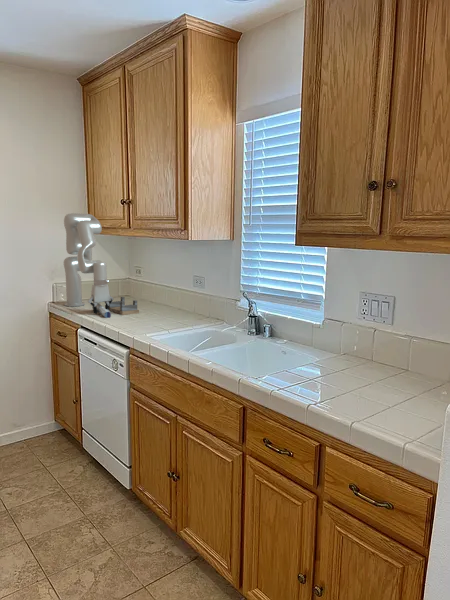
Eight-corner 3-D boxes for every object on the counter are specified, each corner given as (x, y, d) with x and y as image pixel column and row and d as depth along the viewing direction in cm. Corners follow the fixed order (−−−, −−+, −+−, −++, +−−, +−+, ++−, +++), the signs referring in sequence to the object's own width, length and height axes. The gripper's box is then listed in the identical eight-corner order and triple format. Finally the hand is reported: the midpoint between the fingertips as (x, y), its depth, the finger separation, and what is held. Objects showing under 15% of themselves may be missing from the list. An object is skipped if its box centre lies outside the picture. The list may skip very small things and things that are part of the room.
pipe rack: (106, 309, 284) (106, 297, 283) (122, 308, 291) (122, 296, 290) (122, 315, 268) (122, 302, 267) (139, 313, 275) (139, 300, 274)
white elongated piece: (103, 311, 258) (91, 299, 278) (103, 322, 259) (91, 309, 280) (112, 311, 260) (99, 299, 281) (112, 322, 262) (99, 309, 283)
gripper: (111, 281, 276) (111, 310, 279) (83, 283, 265) (84, 313, 268) (116, 282, 270) (117, 312, 273) (88, 284, 259) (89, 315, 262)
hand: (101, 312), depth 270 cm, fingers open, 6 cm apart
